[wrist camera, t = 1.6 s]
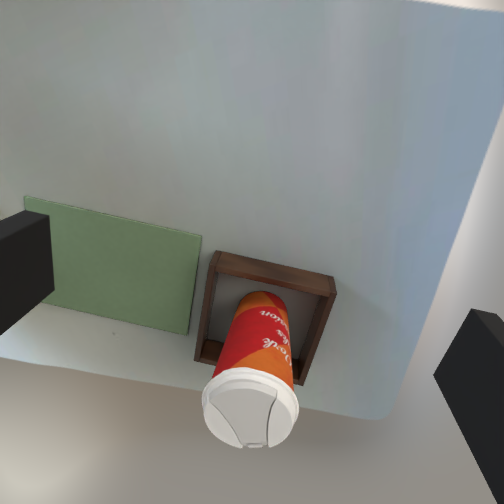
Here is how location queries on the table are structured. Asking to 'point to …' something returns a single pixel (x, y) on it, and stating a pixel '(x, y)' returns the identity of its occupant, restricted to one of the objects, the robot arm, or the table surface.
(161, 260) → the mat
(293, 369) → the crate
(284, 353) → the coffee cup
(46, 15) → the table surface
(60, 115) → the table surface
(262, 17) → the table surface
